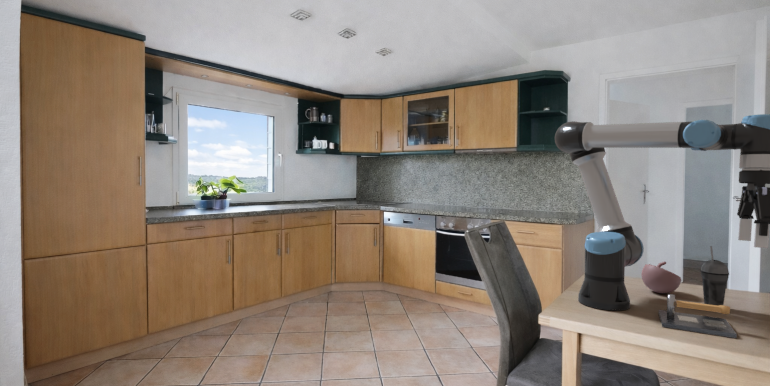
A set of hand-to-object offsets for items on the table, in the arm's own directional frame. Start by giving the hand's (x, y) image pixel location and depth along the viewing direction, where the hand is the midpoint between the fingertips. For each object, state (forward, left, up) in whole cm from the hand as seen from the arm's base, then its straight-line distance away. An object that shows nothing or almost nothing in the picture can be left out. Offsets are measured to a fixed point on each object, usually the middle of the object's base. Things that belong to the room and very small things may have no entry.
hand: (752, 243), depth 115 cm
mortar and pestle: (-20, +24, -23) cm, 39 cm away
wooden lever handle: (-12, -10, -18) cm, 24 cm away
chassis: (-14, -10, -23) cm, 29 cm away
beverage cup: (-6, +12, -23) cm, 27 cm away
